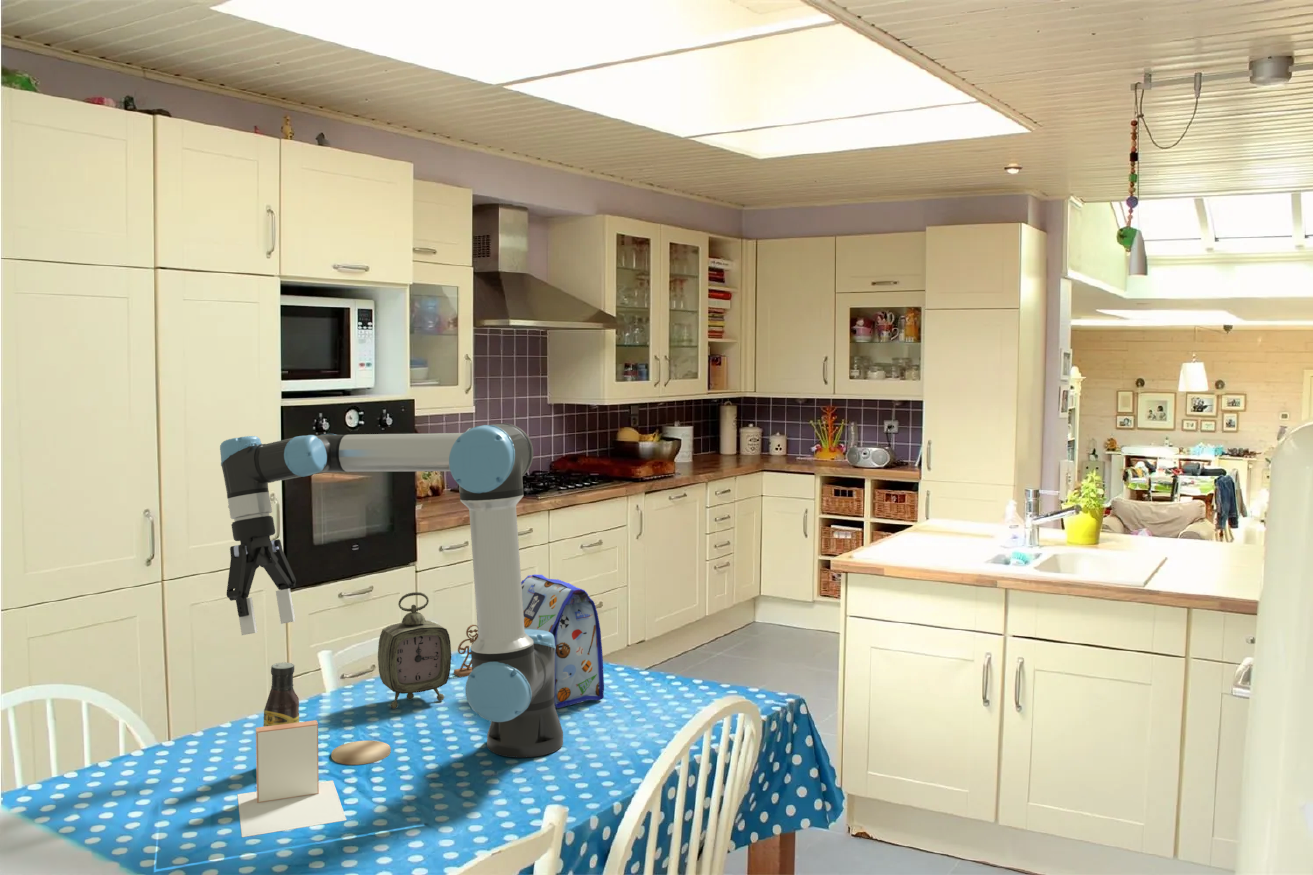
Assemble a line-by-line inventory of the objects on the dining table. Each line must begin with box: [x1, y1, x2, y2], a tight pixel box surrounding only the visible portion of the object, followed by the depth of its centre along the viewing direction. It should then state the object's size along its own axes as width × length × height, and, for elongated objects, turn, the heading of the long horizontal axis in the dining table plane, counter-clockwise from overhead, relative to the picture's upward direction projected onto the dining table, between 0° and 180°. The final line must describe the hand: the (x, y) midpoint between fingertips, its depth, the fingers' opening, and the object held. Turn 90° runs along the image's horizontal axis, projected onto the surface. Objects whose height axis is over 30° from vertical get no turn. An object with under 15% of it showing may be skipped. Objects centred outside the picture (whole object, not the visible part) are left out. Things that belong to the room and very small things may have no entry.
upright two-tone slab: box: [255, 719, 320, 803], centre depth 178 cm, size 2×10×12 cm, turn 114°
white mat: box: [237, 780, 347, 838], centre depth 174 cm, size 18×16×1 cm
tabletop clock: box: [377, 591, 452, 710], centre depth 230 cm, size 14×9×25 cm, turn 123°
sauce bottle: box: [262, 661, 300, 727], centre depth 190 cm, size 6×6×20 cm
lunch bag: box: [521, 574, 605, 709], centre depth 237 cm, size 23×17×27 cm
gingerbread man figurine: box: [453, 624, 478, 678], centre depth 254 cm, size 9×4×12 cm, turn 125°
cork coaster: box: [331, 740, 392, 766], centre depth 198 cm, size 11×11×1 cm
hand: (269, 628), depth 195 cm, fingers open, 13 cm apart
